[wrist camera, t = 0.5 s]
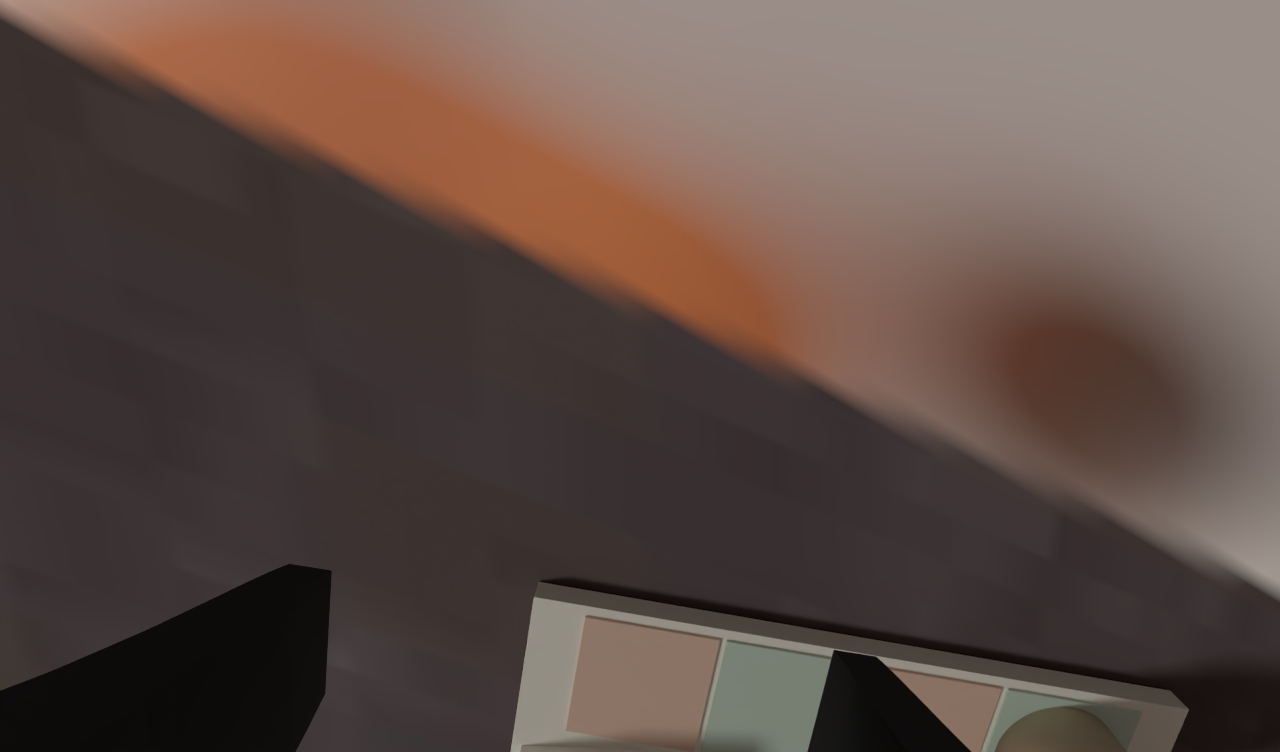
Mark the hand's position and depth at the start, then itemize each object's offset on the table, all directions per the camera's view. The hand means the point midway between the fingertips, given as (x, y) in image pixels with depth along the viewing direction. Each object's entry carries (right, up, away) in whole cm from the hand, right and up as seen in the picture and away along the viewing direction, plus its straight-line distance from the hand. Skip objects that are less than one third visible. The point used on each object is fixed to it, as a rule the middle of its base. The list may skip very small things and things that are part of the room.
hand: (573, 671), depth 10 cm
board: (+6, -7, +12) cm, 15 cm away
